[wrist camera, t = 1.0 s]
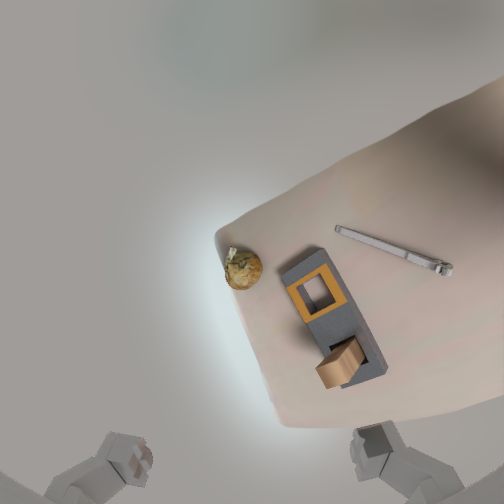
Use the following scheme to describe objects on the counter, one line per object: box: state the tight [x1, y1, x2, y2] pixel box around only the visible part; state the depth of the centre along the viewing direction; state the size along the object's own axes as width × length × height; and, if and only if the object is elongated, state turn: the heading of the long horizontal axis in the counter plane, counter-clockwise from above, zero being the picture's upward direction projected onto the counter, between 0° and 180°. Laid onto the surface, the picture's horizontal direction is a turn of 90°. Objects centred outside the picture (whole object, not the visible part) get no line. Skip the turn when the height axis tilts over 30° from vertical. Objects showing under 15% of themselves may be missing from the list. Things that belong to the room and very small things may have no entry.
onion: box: [224, 246, 262, 290], centre depth 54 cm, size 8×8×8 cm
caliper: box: [336, 225, 453, 276], centre depth 38 cm, size 20×1×6 cm, turn 78°
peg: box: [315, 336, 366, 389], centre depth 42 cm, size 4×4×10 cm
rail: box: [281, 249, 388, 389], centre depth 46 cm, size 9×24×3 cm, turn 37°
